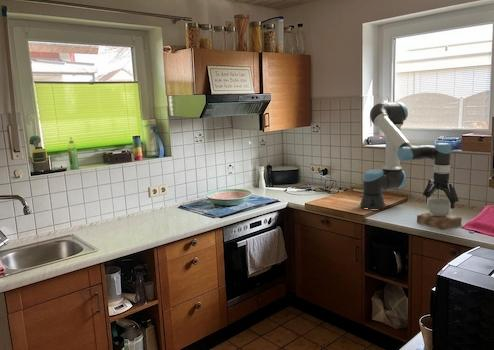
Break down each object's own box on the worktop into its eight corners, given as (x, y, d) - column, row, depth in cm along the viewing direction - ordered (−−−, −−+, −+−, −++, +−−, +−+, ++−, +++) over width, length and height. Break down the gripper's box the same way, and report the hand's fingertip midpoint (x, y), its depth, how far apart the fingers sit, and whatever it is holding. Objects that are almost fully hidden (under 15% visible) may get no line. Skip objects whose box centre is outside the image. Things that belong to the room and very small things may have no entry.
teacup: (452, 218, 216) (453, 203, 214) (430, 217, 218) (431, 202, 217) (446, 210, 229) (446, 196, 228) (425, 210, 232) (425, 196, 230)
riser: (416, 222, 228) (417, 214, 227) (435, 217, 235) (435, 210, 234) (442, 229, 214) (443, 221, 213) (461, 224, 221) (461, 217, 220)
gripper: (417, 169, 228) (415, 207, 232) (458, 176, 207) (455, 218, 211) (426, 168, 232) (424, 205, 236) (467, 175, 210) (465, 215, 214)
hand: (439, 211), depth 223 cm, fingers closed on teacup, 12 cm apart
